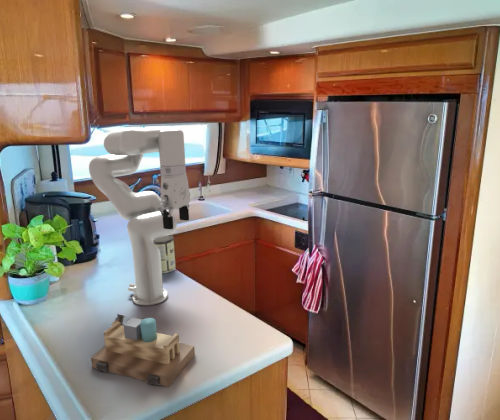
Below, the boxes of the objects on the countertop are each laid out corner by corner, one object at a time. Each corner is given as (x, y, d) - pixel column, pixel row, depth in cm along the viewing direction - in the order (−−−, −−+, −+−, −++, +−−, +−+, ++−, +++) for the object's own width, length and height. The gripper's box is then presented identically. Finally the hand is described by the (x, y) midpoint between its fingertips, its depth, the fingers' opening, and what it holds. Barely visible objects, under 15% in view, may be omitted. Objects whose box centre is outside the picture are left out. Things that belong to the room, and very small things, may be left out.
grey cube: (124, 337, 111) (123, 324, 110) (133, 330, 115) (132, 317, 114) (137, 340, 110) (135, 327, 109) (145, 332, 113) (144, 320, 112)
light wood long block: (105, 350, 114) (103, 332, 112) (119, 338, 119) (117, 321, 118) (168, 364, 107) (166, 346, 105) (179, 351, 112) (178, 334, 111)
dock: (89, 369, 110) (88, 359, 109) (124, 339, 124) (123, 330, 123) (166, 389, 102) (165, 379, 101) (194, 355, 116) (194, 345, 115)
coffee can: (153, 264, 181) (151, 234, 177) (177, 263, 181) (175, 233, 177) (149, 273, 171) (146, 242, 167) (173, 273, 171) (171, 241, 168)
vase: (119, 326, 131) (118, 310, 130) (130, 332, 129) (130, 315, 127) (105, 334, 127) (104, 317, 125) (117, 340, 124) (116, 323, 122)
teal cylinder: (138, 340, 110) (137, 324, 109) (147, 332, 113) (146, 316, 112) (151, 343, 108) (149, 326, 107) (159, 335, 112) (158, 319, 111)
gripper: (168, 176, 115) (172, 233, 119) (197, 166, 130) (200, 218, 135) (146, 174, 117) (150, 231, 122) (176, 165, 133) (180, 216, 137)
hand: (176, 224), depth 128 cm, fingers open, 9 cm apart
